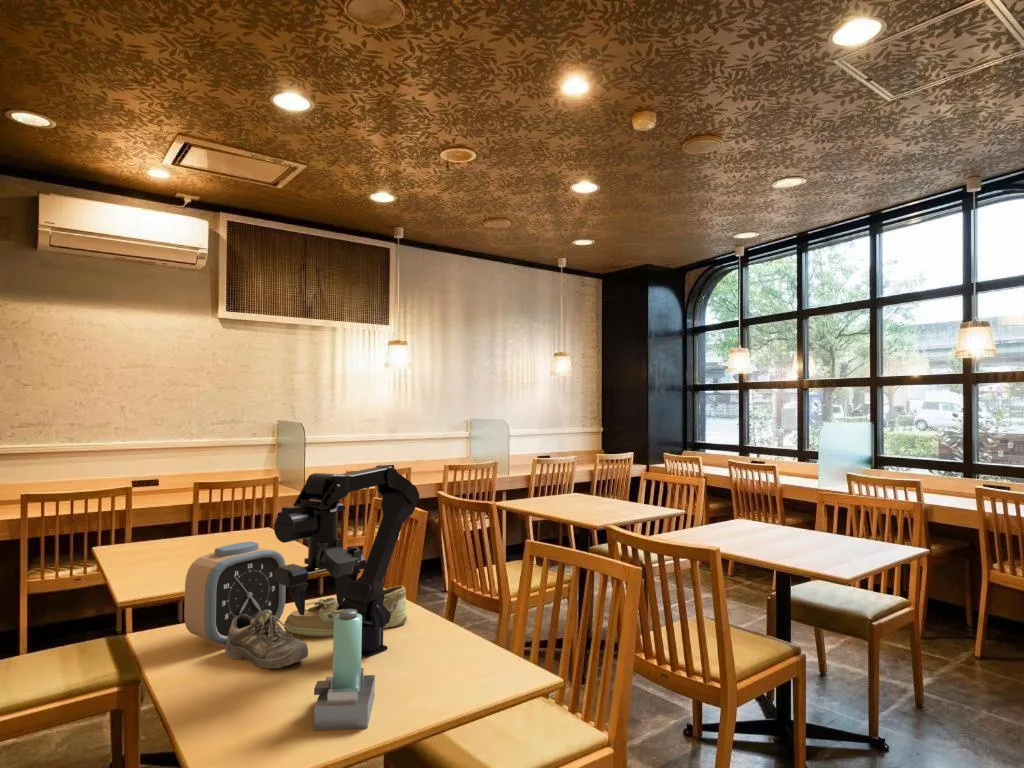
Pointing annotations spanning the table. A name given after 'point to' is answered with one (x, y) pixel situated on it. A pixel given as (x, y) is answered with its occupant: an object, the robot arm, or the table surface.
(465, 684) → the table surface
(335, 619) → the bottle
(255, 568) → the alarm clock
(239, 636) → the hiking shoe
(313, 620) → the boat shoe
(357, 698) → the block
